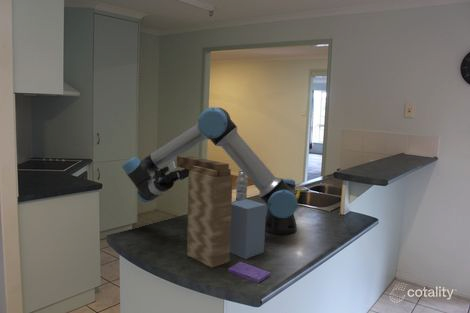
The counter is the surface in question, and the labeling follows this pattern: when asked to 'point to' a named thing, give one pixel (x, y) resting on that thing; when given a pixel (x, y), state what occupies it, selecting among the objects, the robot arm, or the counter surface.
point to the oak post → (209, 216)
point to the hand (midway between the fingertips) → (189, 163)
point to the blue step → (247, 228)
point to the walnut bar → (203, 164)
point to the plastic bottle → (241, 187)
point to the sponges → (249, 272)
